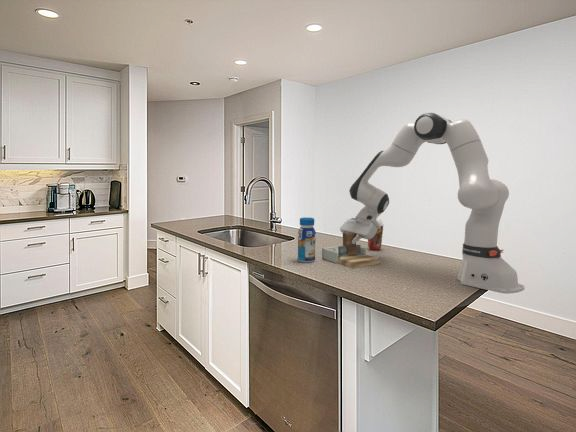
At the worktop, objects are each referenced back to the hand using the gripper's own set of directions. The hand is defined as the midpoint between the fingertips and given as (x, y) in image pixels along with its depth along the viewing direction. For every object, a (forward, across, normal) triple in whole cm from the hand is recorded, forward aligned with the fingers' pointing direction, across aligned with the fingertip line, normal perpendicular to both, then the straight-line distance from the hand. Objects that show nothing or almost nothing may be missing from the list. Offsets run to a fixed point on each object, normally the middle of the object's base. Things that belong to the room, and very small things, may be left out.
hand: (348, 242), depth 171 cm
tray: (+6, -4, +7) cm, 10 cm away
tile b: (+7, -3, +3) cm, 8 cm away
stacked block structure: (+4, +1, +4) cm, 6 cm away
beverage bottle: (+19, -9, -6) cm, 22 cm away
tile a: (+2, -3, +9) cm, 10 cm away
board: (+6, +7, +7) cm, 11 cm away
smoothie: (-14, -12, +27) cm, 32 cm away
